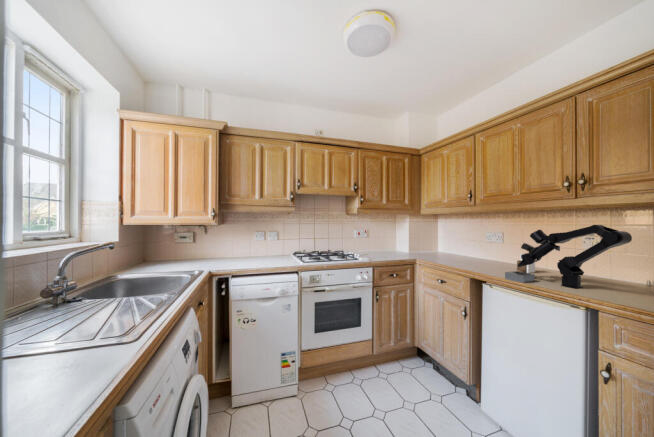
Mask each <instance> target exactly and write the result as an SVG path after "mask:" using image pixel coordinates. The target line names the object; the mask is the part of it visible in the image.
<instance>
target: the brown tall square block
mask: <svg viewBox="0 0 654 437" xmlns="http://www.w3.org/2000/svg"><path fill="white" fill-rule="evenodd" d="M520 262H521V260H519V259H518V260H516V271H519V272H525V273H527V265H525V266H521V267H518V266H517V265H518V264H519V263H520Z"/></svg>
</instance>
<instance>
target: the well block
mask: <svg viewBox="0 0 654 437" xmlns="http://www.w3.org/2000/svg"><path fill="white" fill-rule="evenodd" d="M504 279H505V280H509V281H514V282H518V283H523V284H526V283H531V282H535V274H534V273H525V272H519V271H517V270H513V271H505V272H504Z"/></svg>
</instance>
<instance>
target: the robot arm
mask: <svg viewBox="0 0 654 437" xmlns="http://www.w3.org/2000/svg"><path fill="white" fill-rule="evenodd" d="M595 234H596V235H597V236H598V237H600V238H601V239H600V240H599V242H598V243H596V244H594V245H592V246H591V247H589V248H587V249H585V250H583V251H582V252H579V253H578V254H577V255H575V256H573V255H572V256H571V255H570V256H564V257H562V258H561V259H559V260H558V262H557V263H556V264H557V265H556V266H557V269H558V270H559V273H560V275H562V276H561V284H560V286H562V287H565V288H566V287H567V288H572V289H581V288H583V285H582V283H581V282H582V276H583V275H584V273H585V272H584V271H583V269H582V265H583V264H584V263H587V262H588V261H590V260H591V259H593V258H595V257H597V256H599V255H601V254H602V253H604V252H606V251H608V250H609V249H610V250H611V249H612V248H613V249H614V248H616V247H621V246H623V245H626V244H629V243H631V242H632V240H633V237H632V235H631V233H630V232H627V231H621V230H618V229H615V228H611V227H608V226H605V225H603V224H592V225H590V226H587V227H582V228H579V229H574V230H569V231H566V232H554V233H553V232H552V233H549V234H548V235H547V234H546V233H545V232H544V231H543V230H542V229H537V230H536V231H533V232H531V233H530V235H529V237H530V238H531V239H532V241H534V242H535V243H536V244H538V246H535V247H534V246H533V245H530V244H529V243H526V242H523V244H521V246H520V249H522V250H524V251H527V252H526V253H523V254H524V255H522V261H521V262H520V263H519V264H518V265H517V264H516V267H517V266H518V267H521V266H525V265H530V264H533V263H534V262H535V263H537V262H539V261H541V260H542V258H543V257H545V256H547V255H548V254H550V253H551V252H552V251H554V250H555V251H558V252H560V251H561V246H560V245H559V244H564V243H565V244H566V243H567V242H569V241H572V240H573V239H577V238H581V237H586V236H591V235H595ZM539 244H540V245H539ZM557 244H558V245H557Z"/></svg>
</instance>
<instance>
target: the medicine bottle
mask: <svg viewBox="0 0 654 437" xmlns="http://www.w3.org/2000/svg"><path fill="white" fill-rule="evenodd" d="M524 254H525V253H521V254H520V260H521V261H522V255H524ZM535 272H536V262H534V263H533V264H530V265H527V273H530V274H534V273H535Z"/></svg>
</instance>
